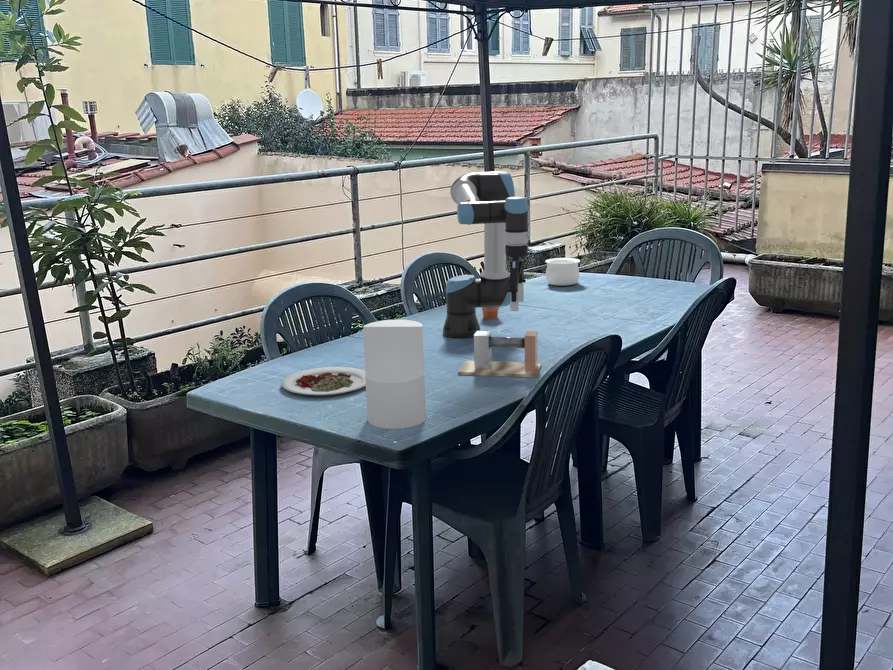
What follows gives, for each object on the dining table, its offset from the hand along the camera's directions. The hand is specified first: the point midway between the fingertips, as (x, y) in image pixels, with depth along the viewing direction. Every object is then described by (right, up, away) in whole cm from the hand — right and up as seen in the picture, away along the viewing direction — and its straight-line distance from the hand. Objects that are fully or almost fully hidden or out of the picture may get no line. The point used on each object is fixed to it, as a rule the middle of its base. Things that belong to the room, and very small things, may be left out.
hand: (517, 306), depth 295 cm
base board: (-5, -22, +7) cm, 23 cm away
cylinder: (-39, -35, -38) cm, 64 cm away
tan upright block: (+5, -22, +4) cm, 23 cm away
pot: (+35, +16, +147) cm, 152 cm away
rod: (-3, -14, +4) cm, 15 cm away
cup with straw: (-5, -2, +83) cm, 83 cm away
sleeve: (-11, -22, +8) cm, 26 cm away
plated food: (-64, -27, -4) cm, 69 cm away
